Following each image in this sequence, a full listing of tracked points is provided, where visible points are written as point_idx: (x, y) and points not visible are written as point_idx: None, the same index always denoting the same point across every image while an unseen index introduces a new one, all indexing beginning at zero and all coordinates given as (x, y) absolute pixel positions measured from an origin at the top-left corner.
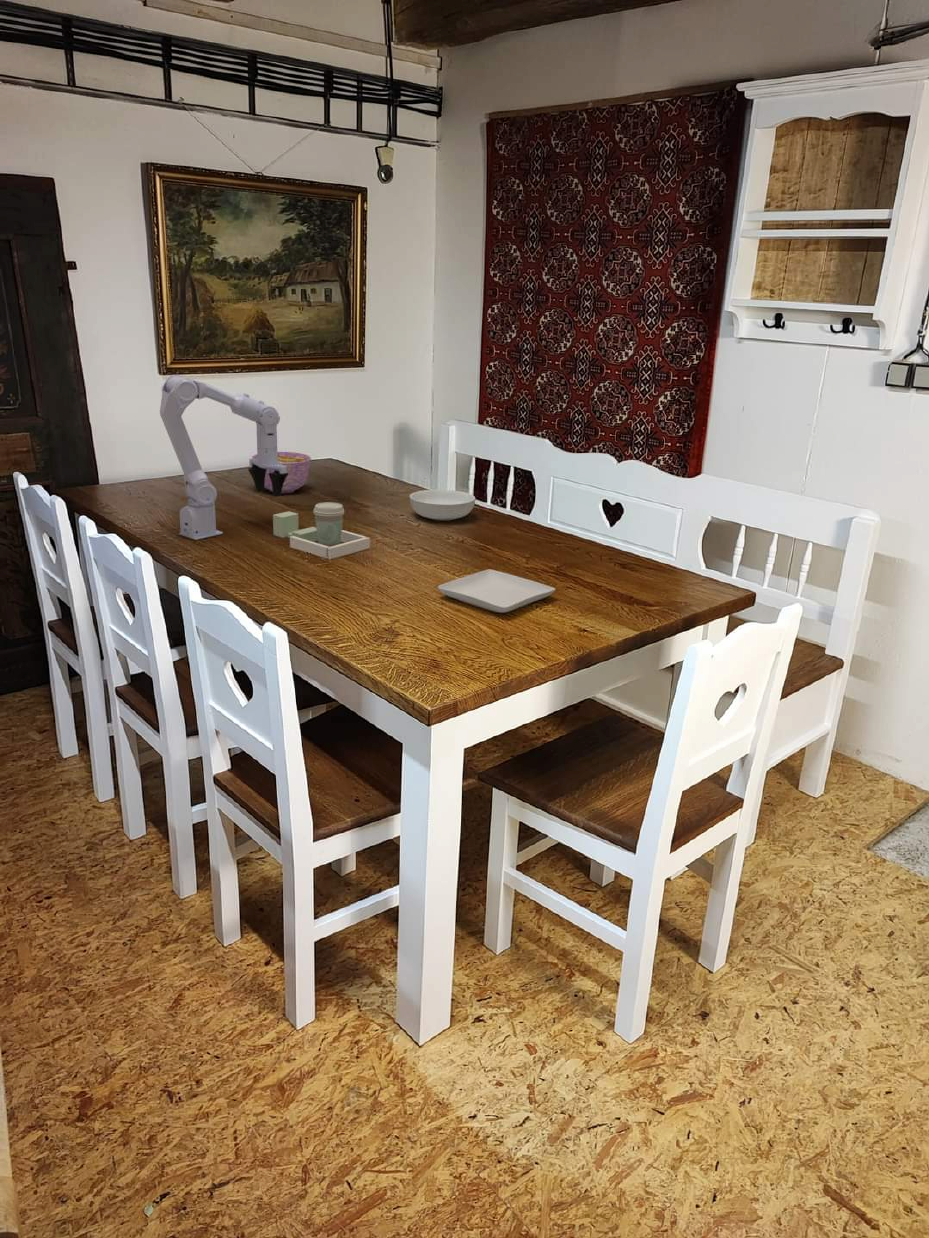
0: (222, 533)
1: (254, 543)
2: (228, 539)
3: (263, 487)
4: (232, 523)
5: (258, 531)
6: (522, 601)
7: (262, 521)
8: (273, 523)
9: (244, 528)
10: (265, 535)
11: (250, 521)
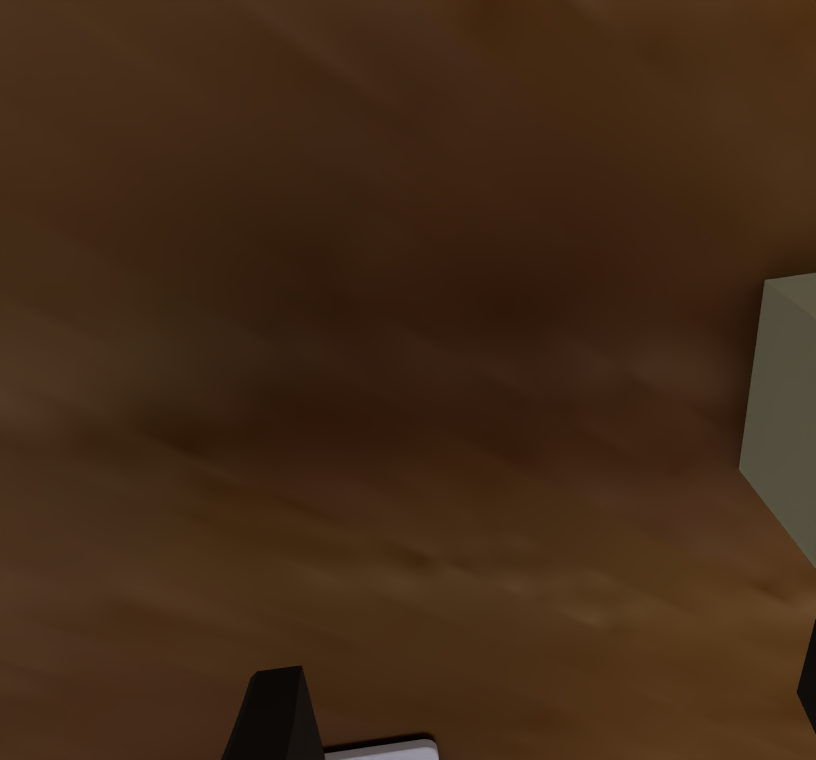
0: (435, 744)
1: (790, 666)
2: (570, 745)
3: (298, 747)
4: (144, 575)
5: (543, 517)
6: None
7: (218, 311)
8: (806, 550)
9: (373, 564)
10: (692, 526)
11: (151, 416)
